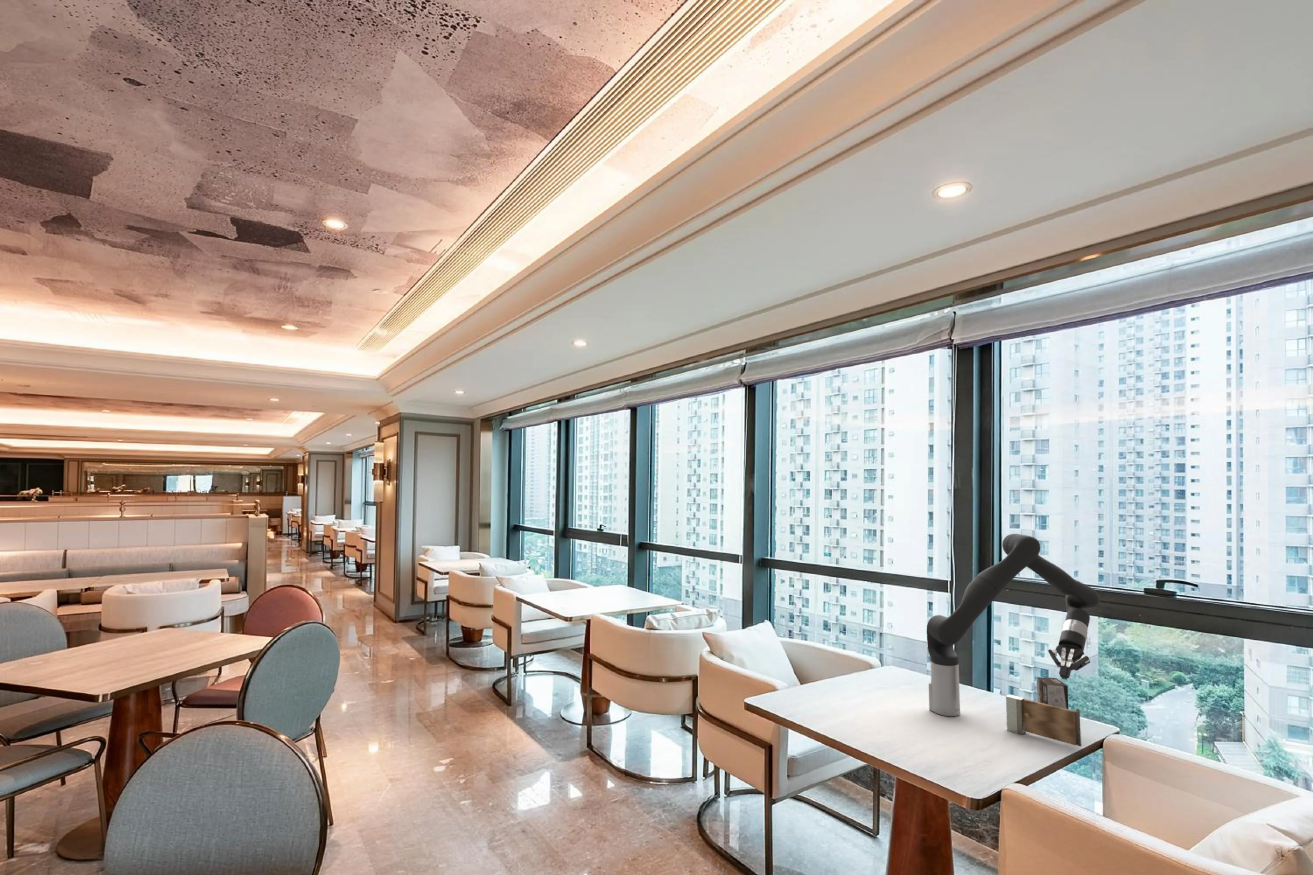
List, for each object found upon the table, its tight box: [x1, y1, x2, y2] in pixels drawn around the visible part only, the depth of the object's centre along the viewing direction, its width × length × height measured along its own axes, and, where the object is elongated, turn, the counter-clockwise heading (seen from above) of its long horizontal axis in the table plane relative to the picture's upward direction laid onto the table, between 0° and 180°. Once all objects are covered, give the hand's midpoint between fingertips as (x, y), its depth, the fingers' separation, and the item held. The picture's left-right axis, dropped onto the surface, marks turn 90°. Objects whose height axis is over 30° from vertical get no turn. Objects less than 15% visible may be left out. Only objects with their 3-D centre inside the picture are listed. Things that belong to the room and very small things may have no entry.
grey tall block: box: [1005, 694, 1027, 736], centre depth 208 cm, size 5×3×11 cm, turn 41°
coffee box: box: [1036, 676, 1070, 710], centre depth 209 cm, size 9×6×16 cm
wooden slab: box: [1024, 699, 1082, 747], centre depth 199 cm, size 16×2×11 cm, turn 41°
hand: (1063, 677), depth 217 cm, fingers closed
